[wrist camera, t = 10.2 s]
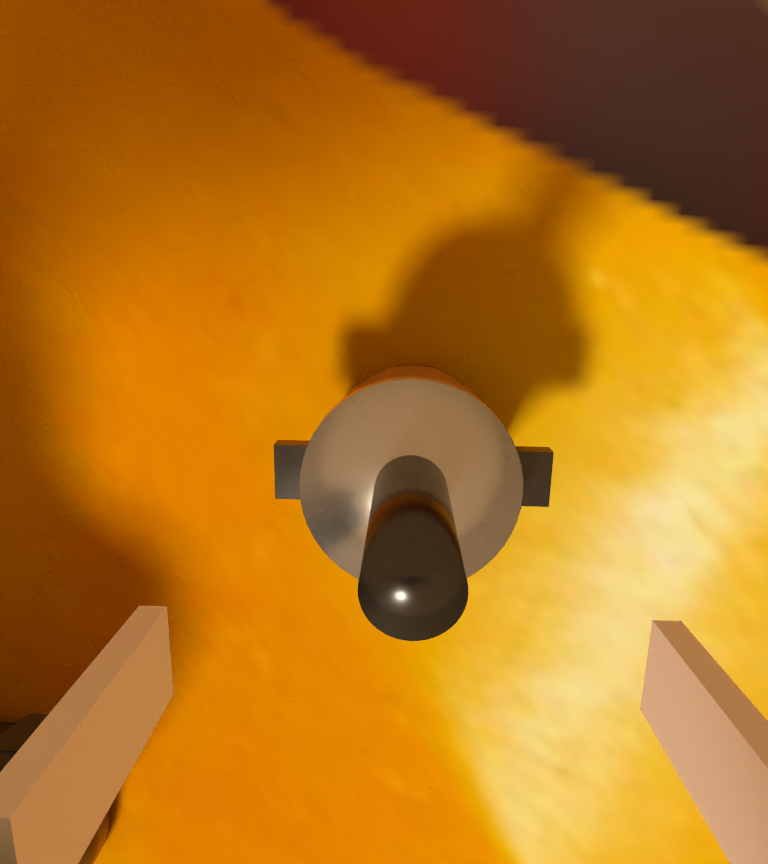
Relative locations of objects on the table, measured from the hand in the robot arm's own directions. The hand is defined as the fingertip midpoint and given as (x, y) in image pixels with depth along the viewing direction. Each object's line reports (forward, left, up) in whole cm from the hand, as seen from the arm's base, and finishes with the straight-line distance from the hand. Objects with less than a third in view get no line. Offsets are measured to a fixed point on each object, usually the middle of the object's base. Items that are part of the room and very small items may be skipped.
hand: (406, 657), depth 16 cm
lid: (0, 0, -15) cm, 15 cm away
